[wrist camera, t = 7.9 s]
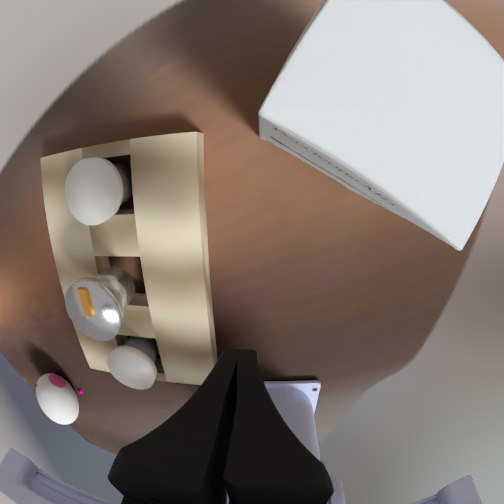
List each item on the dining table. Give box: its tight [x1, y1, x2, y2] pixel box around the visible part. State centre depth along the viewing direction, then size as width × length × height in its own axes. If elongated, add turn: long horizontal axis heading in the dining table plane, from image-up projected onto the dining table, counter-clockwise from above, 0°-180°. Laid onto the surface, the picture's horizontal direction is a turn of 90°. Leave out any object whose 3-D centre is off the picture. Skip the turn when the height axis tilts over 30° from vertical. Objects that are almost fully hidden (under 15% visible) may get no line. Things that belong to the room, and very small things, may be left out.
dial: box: [65, 266, 135, 341], centre depth 17 cm, size 4×4×4 cm
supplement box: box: [258, 0, 504, 251], centre depth 11 cm, size 7×7×13 cm
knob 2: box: [107, 336, 159, 389], centre depth 21 cm, size 4×4×4 cm
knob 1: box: [65, 157, 133, 225], centre depth 17 cm, size 4×4×4 cm
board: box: [40, 132, 218, 385], centre depth 20 cm, size 20×13×2 cm, turn 1°
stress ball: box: [35, 373, 83, 424], centre depth 26 cm, size 8×8×7 cm
